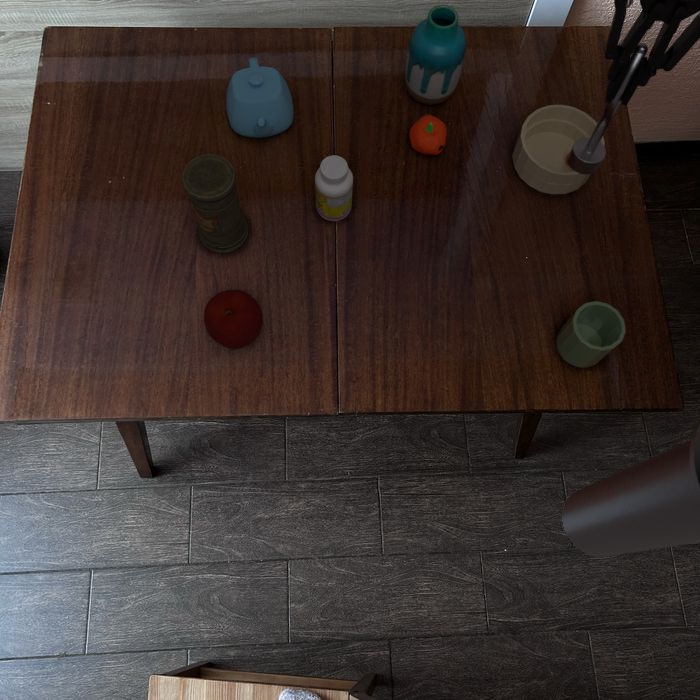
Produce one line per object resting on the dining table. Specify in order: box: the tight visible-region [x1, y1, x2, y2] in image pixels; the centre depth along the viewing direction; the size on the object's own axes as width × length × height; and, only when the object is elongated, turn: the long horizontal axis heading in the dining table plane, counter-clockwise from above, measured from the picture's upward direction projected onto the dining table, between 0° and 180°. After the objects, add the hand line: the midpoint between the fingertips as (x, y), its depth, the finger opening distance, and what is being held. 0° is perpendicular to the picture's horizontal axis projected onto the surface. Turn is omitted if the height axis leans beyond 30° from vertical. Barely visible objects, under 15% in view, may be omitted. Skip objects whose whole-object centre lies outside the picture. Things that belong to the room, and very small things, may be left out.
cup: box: [555, 300, 627, 368], centre depth 116 cm, size 8×9×9 cm
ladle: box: [567, 42, 649, 175], centre depth 101 cm, size 5×5×23 cm
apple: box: [203, 288, 264, 350], centre depth 115 cm, size 10×10×10 cm
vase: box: [404, 4, 467, 106], centre depth 129 cm, size 11×11×19 cm
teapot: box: [225, 56, 295, 139], centre depth 129 cm, size 13×11×18 cm
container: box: [181, 153, 249, 255], centre depth 117 cm, size 9×9×18 cm
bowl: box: [511, 104, 606, 195], centre depth 130 cm, size 15×15×7 cm
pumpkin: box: [408, 114, 448, 156], centre depth 131 cm, size 7×8×6 cm
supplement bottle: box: [314, 154, 354, 222], centre depth 122 cm, size 7×7×13 cm
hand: (617, 95), depth 99 cm, fingers closed on ladle, 2 cm apart
